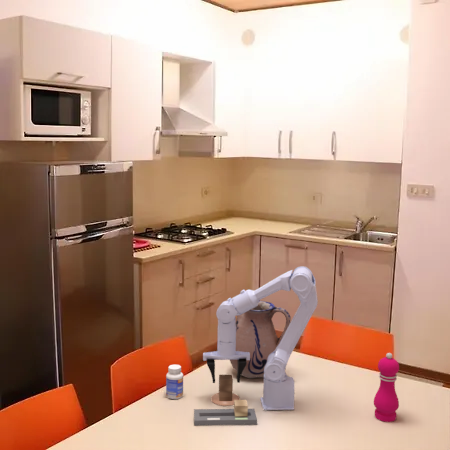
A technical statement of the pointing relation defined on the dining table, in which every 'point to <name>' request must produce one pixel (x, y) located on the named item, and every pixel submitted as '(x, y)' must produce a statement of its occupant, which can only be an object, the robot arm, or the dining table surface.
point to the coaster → (224, 403)
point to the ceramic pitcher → (257, 337)
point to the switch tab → (240, 408)
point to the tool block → (225, 387)
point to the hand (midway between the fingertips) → (226, 381)
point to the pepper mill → (387, 390)
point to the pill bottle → (174, 382)
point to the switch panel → (223, 417)
